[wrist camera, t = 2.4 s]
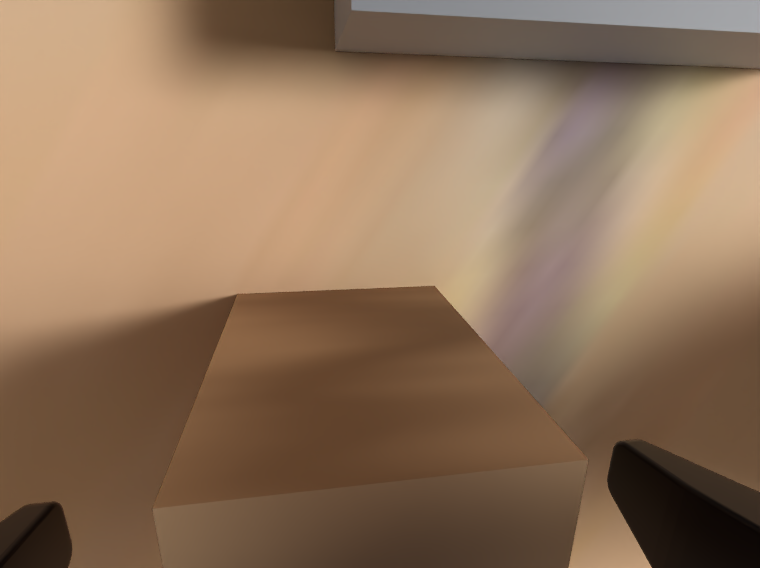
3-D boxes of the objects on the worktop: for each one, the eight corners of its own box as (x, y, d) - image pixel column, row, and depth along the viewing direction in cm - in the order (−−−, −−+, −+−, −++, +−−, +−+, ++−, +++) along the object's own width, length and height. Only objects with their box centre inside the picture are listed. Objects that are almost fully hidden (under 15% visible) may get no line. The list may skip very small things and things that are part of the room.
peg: (434, 285, 10) (588, 458, 5) (426, 444, 12) (538, 724, 6) (237, 293, 10) (152, 508, 4) (252, 461, 11) (204, 794, 6)
